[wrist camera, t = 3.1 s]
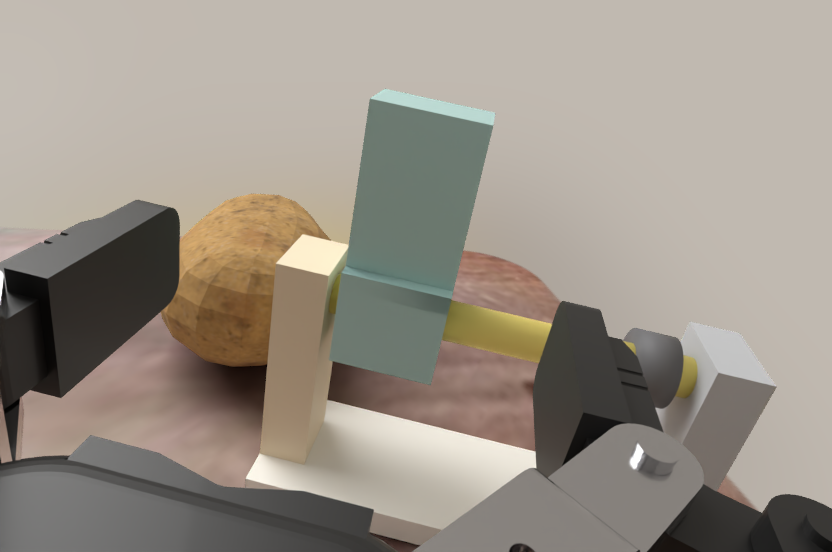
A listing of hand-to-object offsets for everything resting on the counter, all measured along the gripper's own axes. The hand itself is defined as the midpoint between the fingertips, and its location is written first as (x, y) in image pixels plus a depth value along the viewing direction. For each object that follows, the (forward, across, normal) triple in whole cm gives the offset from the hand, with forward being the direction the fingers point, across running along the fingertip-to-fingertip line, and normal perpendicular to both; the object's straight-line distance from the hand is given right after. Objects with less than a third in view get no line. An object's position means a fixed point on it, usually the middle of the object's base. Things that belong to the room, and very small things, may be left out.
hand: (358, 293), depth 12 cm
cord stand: (+10, -4, +14) cm, 18 cm away
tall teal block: (+9, 0, +7) cm, 12 cm away
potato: (+18, +9, +15) cm, 25 cm away
